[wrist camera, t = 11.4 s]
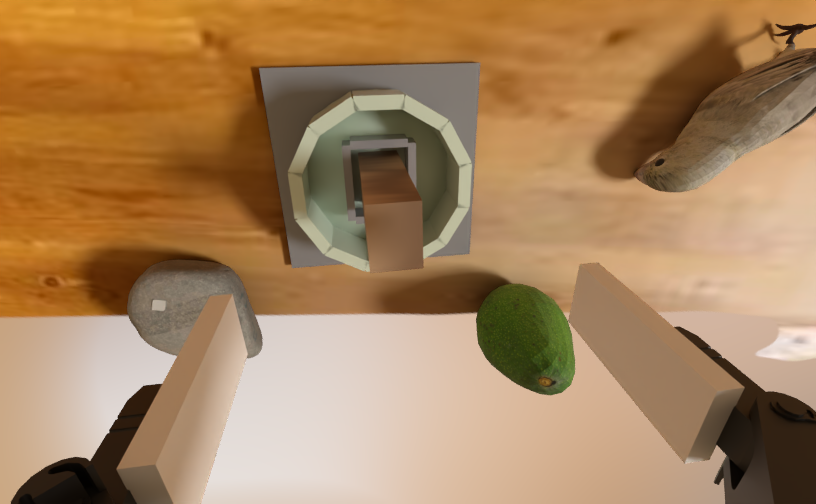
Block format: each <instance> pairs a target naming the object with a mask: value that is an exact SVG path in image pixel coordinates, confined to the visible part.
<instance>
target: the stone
mask: <svg viewBox="0 0 816 504" xmlns="http://www.w3.org/2000/svg"><path fill="white" fill-rule="evenodd" d="M227 294H233V298H234V302H235V306H236V310H237V314H238V318H239V322H240V325H241V329H242V333H243V337H244V341H245V345H246V349H247V353H248V355H247V358H251V357H254V356H256V355H258V354H259V352H260V351H261V349H262V334H261V330H260V328H259V325H258V322H257V319H256V317H255V314H254V312H253V309H252V307H251V305H250V302H249V300H248V297H247V294H246V291H245V288H244V286H243V283H242V281H241V280H240V278H239V276H238V275H237V274H236V273H235V272H234V271H233V270H232V269H231V268H230V267H228V266H226V265H223V264H220V263H215V262H208V261H198V260H167V261H162V262H159V263H156V264H154V265H152V266H150V267H149V268H148V269H147V270H146V271H145V272H144V273H143V274H142V275H141V276H140V277H139V278H138V279H137V280H136V282H135V283H134V285H133V287H132V288H131V290H130V293H129V297H128V304H127V311H128V315H129V319H130V321H131V322H132V324H133V325H134V326H135V328H136V329H137V331H138V333H139V335H140V336H141V337H142V338H143V339H144V340H145V341H146V342H147V343H148V344H150V345H151V346H152V347H154V348H156V349H158V350H161V351H164V352H166V353H169V354H172V355H176V356H178V354H179V352H180V351H181V349H182V347H183V345H184V343H185V341H186V339H187V338H188V336H189V334H190V332H191V330H192V328H193V327H194V325H195V323H196V321H197V319H198V317H199V315H200V314H201V312H202V310H203V308H204V306H205V304H206V302H207V301H208V299H209V297H210V296H216V295H227Z"/></svg>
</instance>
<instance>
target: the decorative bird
mask: <svg viewBox="0 0 816 504" xmlns="http://www.w3.org/2000/svg"><path fill="white" fill-rule="evenodd" d="M776 26H777V27H779V28H780V29H783V30H788V31H786V32H783V33H781V34H776V36H785V35H789V34H791V33H792V34H791V35H790V36H789V38H788V39H787V41H786V44H789V45H788V46H787V47H786V48H785V50H784V51H783V52H782V53H781V54H780V55H779V56H777V57H776V58H775V59H774V60H772V61H770V62H767V63H765V64H762V65H760V66H757V67H755V68H753V69H750V70H748V71H746V72H744V73H742V74H740V75H739V76H737V77H735V78H733V79H731V80H730V81H728V82H726V83H725V84H723V85H722V86H720V87H719V88H717V89H716V90H714V91H713V92H712V93H710V94H709V95H708V96H707V97H706V98H705V99H704V100H703V101H702V102H701V104H700V105H699V106H698V108H697V109H696V111H695V113H694V115H693V116H692V118H691V119H690V121H689V123H688V124H687V125H686V127H685V128H684V129H683V130H682V132H681V133H680V135H679V136H678V138H677V139H676V142H675V144H674V145H673V146H671V147H670V148H668V149H667V150H666V151H664V152H663V153H661V154H660V155H659V156H658V157H656V158H655V159H654V160H653V161H651V162H649V163H647V164H645V165H644V166H642V167H641V168H639V169H638V170H637V171H635V173H634V176H635V177H636V178H637V179H638V180H639V181H641V182H642V183H644V184H646V185H648V186H649V187H651V188H653V189H655V190H658V191H664V192H684V191H690V190H693V189H696V188H698V187H700V186H702V185H704V184H705V183H707V182H709V181H710V180H712V179H713V178H714V177H716V176H717V175H718V174H720V173H721V172H722V171H723V170H725V169H726V168H727V167H728V166H729V165H731V164H732V163H733V162H734V161H736V160H737V159H739V158H740V157H741V156H743V155H744V154H746V153H748V152H751V151H753V150H755V149H757V148H759V147H761V146H763V145H765V144H768V143H770V142H772V141H774V140H775V139H777V138H779V137H781V136H783V135H785V134H787V133H788V132H790V131H792V130H793V129H795V128H796V127H798V126H799V125H801V124H802V123H804V122H805V121H806V120H808V119H809V118H810V117H811V116H813V115H814V114H815V113H816V48H806V49H797V50H795V44H794V42H793V39H794V37H795V36H796V35H797V34H800V33H802V32H803V31H804V30H807V29H811V28H814V27H816V24H813V25H808V26H807V25H803V24H796V25H792V26H781V25H778V24H776Z"/></svg>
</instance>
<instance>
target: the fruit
mask: <svg viewBox="0 0 816 504" xmlns="http://www.w3.org/2000/svg"><path fill="white" fill-rule="evenodd" d="M476 323H477V337H478V344H479V346H480V348H481V350H482V352H483V353H484V355H485V357H486V359H487V360H488V361H489V362H490V363H491V365H493V366H494V367H495V368H496V369H497V370H499V371H500V372H501V373H502V374H503V375H505V376H506V377H508V378H509V379H510V380H512V381H513V382H515V383H516V384H518V385H520V386H522V387H524V388H526V389H529V390H531V391H534V392H536V393H539V394H545V395H553V394H558V393H562V392H563V391H564V390H565V389H566V388H567V387H569V386H570V385H571V382H572V380H573V376H574V374H575V357H574V351H573V342H572V334H571V331H570V327H569V324H568V321H567V319H566V317H565V315H564V314H563V312H562V311H561V309H560V308H559V306H558V305H557V304H556V302H555V301H554V300H553V299H552V298H550V297H549V296H547V295H546V294H544V293H543V292H541V291H540V290H538V289H536V288H534V287H530V286H527V285H523V284H507V285H504V286H500V287H498V288H497V289H495V290H493V291H492V292H491V293H490V294H489V295H488V296H487V297H486V298H485V300H484V301H483V303H482V305H481V307H480V308H479V310H478V313H477V318H476Z"/></svg>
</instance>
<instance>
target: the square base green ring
mask: <svg viewBox="0 0 816 504" xmlns="http://www.w3.org/2000/svg"><path fill="white" fill-rule="evenodd" d="M259 72H260V78H261V84H262V90H263V96H264V102H265V108H266V114H267V120H268V126H269V132H270V138H271V144H272V150H273V156H274V162H275V168H276V174H277V180H278V186H279V192H280V198H281V204H282V210H283V216H284V222H285V228H286V234H287V240H288V246H289V252H290V258H291V264H292V268H299V267H312V266H324V265H337V264H347V265H350V266H352V267H355V268H357V269H360V270H362V271H365V269H366V272H367V271H370V267H369V258H368V249H367V240H366V231H365V222H364V213H363V204H362V194H361V182H360V171H359V160H358V152H374V151H390V150H397V152H398V154H399V156H400V158H401V160H402V162H403V164H404V166H405V168H406V170H407V172H408V174H409V176H410V178H411V180H412V182H413V183H414V185H415V187H416V189H417V191H418V193H419V195H420V197H421V199H422V213H423V259H425V258H426V257H437V256H450V255H463V254H469V252H470V234H471V217H472V199H473V181H474V164H475V146H476V129H477V111H478V94H479V76H480V63H443V64H400V65H358V66H315V67H273V68H259Z"/></svg>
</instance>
